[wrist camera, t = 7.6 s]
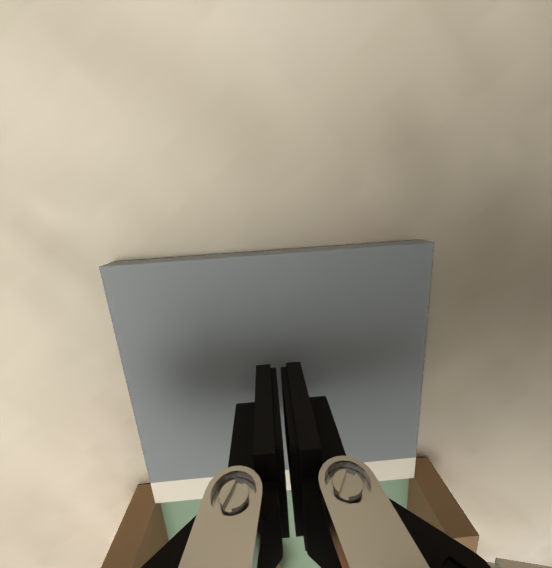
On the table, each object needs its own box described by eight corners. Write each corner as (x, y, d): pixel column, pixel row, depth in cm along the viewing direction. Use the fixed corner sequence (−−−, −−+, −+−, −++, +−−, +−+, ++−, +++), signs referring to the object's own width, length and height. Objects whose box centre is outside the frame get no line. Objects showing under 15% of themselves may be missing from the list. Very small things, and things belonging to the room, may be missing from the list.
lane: (448, 237, 11) (547, 253, 7) (412, 601, 17) (457, 716, 13) (81, 263, 11) (-20, 295, 7) (174, 628, 17) (147, 756, 13)
